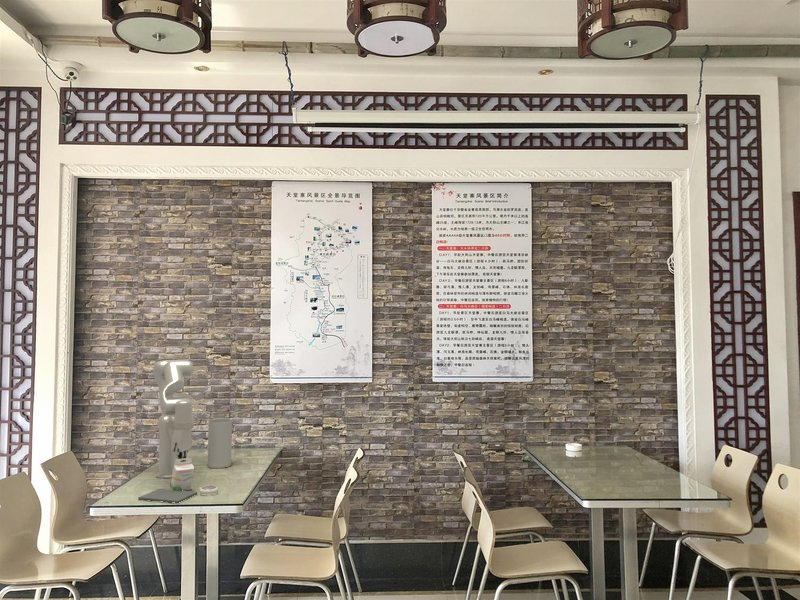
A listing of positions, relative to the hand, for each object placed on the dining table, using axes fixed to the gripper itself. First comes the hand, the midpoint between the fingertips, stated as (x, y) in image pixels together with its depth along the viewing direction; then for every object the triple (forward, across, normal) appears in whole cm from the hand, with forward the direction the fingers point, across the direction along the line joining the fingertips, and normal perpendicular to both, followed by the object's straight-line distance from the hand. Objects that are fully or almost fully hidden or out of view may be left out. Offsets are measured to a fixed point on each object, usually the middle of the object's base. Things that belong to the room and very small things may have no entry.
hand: (182, 465), depth 289 cm
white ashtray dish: (+11, +2, +16) cm, 20 cm away
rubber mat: (+11, +13, +2) cm, 17 cm away
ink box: (+11, 0, 0) cm, 11 cm away
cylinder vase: (+11, -48, -8) cm, 50 cm away
